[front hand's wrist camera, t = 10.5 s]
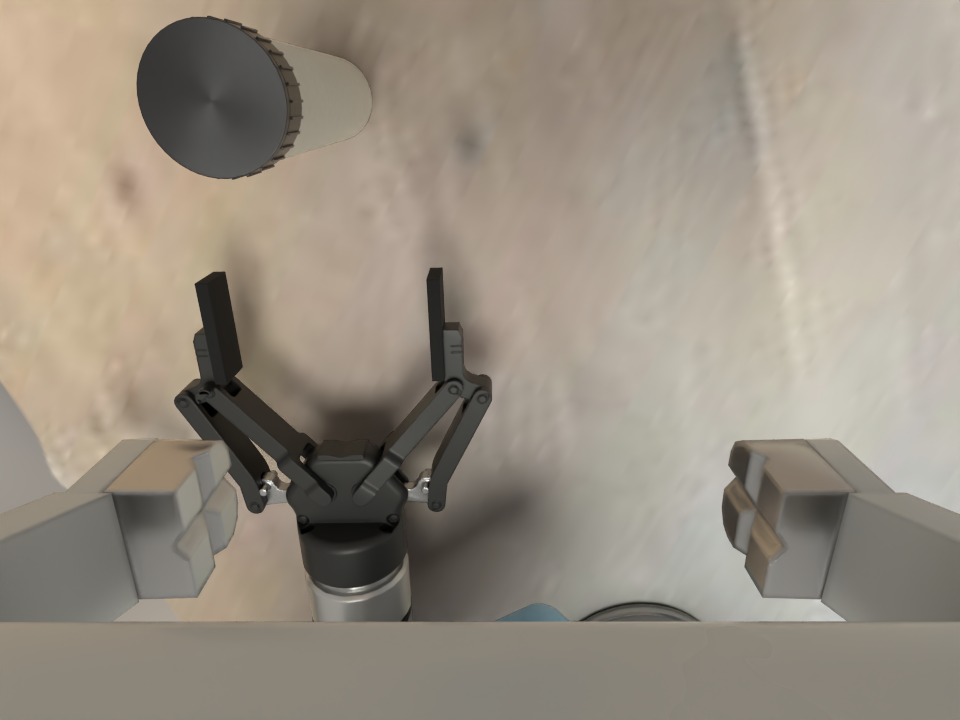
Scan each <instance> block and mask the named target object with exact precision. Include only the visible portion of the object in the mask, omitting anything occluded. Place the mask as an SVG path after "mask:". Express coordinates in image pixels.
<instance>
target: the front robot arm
mask: <svg viewBox="0 0 960 720" xmlns="http://www.w3.org/2000/svg"><path fill="white" fill-rule="evenodd" d="M231 465H232V464H231V459H230V455H229V450H228V446H227V445H226V444H225V443H224V442H223V441H222V440H182V439H157V438H153V439H128V440H122V441H121V442H120V443H119V444H118V445H117V446H115V447H114V448H113V449H112V450H111V451H110V452H109V453H108V454H107V455H105V456H104V457H103V458H102V459H101V460H100V461H99V462H98V463H97V464H96V465H94V466H93V467H92V468H91V469H90V470H89V471H88V472H87V473H86V474H85V475H83V476H82V477H81V478H80V479H79V480H78V481H77V482H76V483H75V484H74V485H72V486H71V487H70V488H69V489H68V490H67V491H66V492H65V493H52V494H50V495H47V496H45V497H42V498H40V499H37V500H35V501H32V502H30V503H27V504H25V505H22V506H20V507H17V508H15V509H12V510H10V511H7V512H5V513H2V514H0V720H960V514H958V513H955V512H953V511H950V510H948V509H945V508H943V507H940V506H938V505H935V504H933V503H930V502H928V501H925V500H923V499H920V498H918V497H915V496H913V495H910V494H908V493H895V492H894V491H893V490H892V489H891V488H890V487H889V486H888V485H887V484H885V483H884V482H883V481H882V480H881V479H880V478H879V477H878V476H877V475H876V474H874V473H873V472H872V471H871V470H870V469H869V468H868V467H867V466H866V465H865V464H863V463H862V462H861V461H860V460H859V459H858V458H857V457H856V456H855V455H854V454H852V453H851V452H850V451H849V450H848V449H847V448H846V447H845V446H844V445H843V444H841V443H840V442H839V441H838V440H834V439H831V438H825V439H782V440H742V441H737V442H735V443H734V445H733V448H732V450H731V453H730V458H729V464H728V465H729V467H730V469H731V470H732V472H733V473H734V475H735V476H736V477H735V478H734V479H733V481H732V482H731V483H730V484H729V485H728V486H727V487H726V488H725V489H724V494H723V502H722V515H723V525H724V528H725V531H726V534H727V537H728V539H729V541H730V542H731V544H732V546H733V547H734V548H735V549H737V550H739V551H740V552H742V553H743V554H745V555H747V556H746V561H745V566H744V567H745V568H746V570H747V572H748V574H749V575H750V577H751V579H752V580H753V582H754V584H755V585H756V587H757V589H758V590H759V592H760V594H761V596H762V597H763V598H794V599H821V602H822V603H823V604H825V605H826V606H827V607H829V608H830V609H831V610H833V611H834V612H835V613H837V614H838V615H839V616H841V617H842V618H843V619H845V620H846V621H848V622H113V621H114V620H115V619H117V618H118V617H119V616H121V615H122V614H123V613H125V612H126V611H127V610H129V609H130V608H131V607H133V606H134V605H136V604H137V603H138V602H139V600H138V599H165V598H197V597H198V596H199V594H200V592H201V591H202V589H203V587H204V585H205V584H206V582H207V580H208V579H209V577H210V575H211V574H212V572H213V570H214V568H215V561H214V556H213V555H215V554H217V553H218V552H220V551H221V550H223V549H225V548H226V547H227V546H228V544H229V542H230V540H231V539H232V537H233V535H234V531H235V527H236V522H237V518H238V500H237V494H236V489H235V488H234V487H233V486H232V485H231V484H230V483H229V482H228V481H227V480H226V478H225V477H224V476H225V475H226V473H227V472H228V470H229V469H230V467H231Z"/></svg>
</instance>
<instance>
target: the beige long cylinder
mask: <svg viewBox="0 0 960 720" xmlns="http://www.w3.org/2000/svg"><path fill="white" fill-rule="evenodd" d="M264 38H265V37H264ZM267 39H269V38H267ZM270 40H271V41H272V42H271V43H272V44H273V45H274V46H275V47H276V48H277V49H278V50H279V51H281V52H283V53H284V55H283V56H284V58H285V59H286V60H287V62H288V64H289V65H290V66H292V67H293V70H292V71H293V73H294V75H295V77H296V80H297V83H300V86H299V90H300V95H301V100H302V99H303V103H302V116H303V119H301V124H300V128H299V131H300V134H298V135H297V137H296V139H295V141H294V144H293V145H294V147H293V148H290V150H289V151H288V152H287V153H286V154H285V157H286V158H287V157H291V156H294V155H297V154H301V153H304V152H307V151H310V150H314V149H317V148H320V147H323V146H327V145H330V144H333V143H337V142H340V141H343V140H346V139H349V138H351V137H353V136H355V135H357V134H358V133H359V132H360V131H361V130H362V129H363V128H364V126H365V125H366V124H367V122H368V120H369V117H370V114H371V110H372V95H371V90H370V87H369V84H368V82H367V80H366V78H365V76H364V75H363V74H362V72H361V71H360V70H359V69H358V68H357V67H356V66H355V65H354V64H352V63H351V62H349V61H347V60H345V59H343V58H340V57H337V56H333V55H329V54H325V53H322V52H318V51H314V50H310V49H307V48H303V47H299V46H295V45H292V44H288V43H284V42H280V41H277V40H273V39H270Z"/></svg>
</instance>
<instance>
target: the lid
mask: <svg viewBox="0 0 960 720" xmlns="http://www.w3.org/2000/svg"><path fill="white" fill-rule="evenodd" d="M271 42H272V41H271V40H270V39H267V38H264V37H263V36H261V35H260V34H258V33H257V30H256V29H252V28H249V27H245V26H242V24H241V23H238V22H235V21H231V20H228V19H224V20H222V19H219V18H215V17H212V16H207V17H190V18H186V19H182V20H179V21H176V22H174V23H172V24H170V25H168V26H166V27H165V28H163V29H162V30H161V31H160V32H158V33H157V34H156V35H155V36H154V37H153V39H152V40H151V41H150V43H149V44H148V45H147V47H146V49H145V51H144V53H143V55H142V58H141V61H140V63H139V68H138V73H137V96H138V102H139V107H140V110H141V113H142V116H143V119H144V121H145V123H146V126H147V128H148V129H149V131H150V133H151V135H152V136H153V138H154V139H155V140H156V142H157V143H158V144H159V146H160V147H161V148H162V149H163V150H164V151H165V152H166V153H167V154H168V155H169V156H170V157H171V158H172V159H173V160H175V161H176V162H177V163H179V164H180V165H182V166H183V167H185V168H187V169H189V170H190V171H193V172H195V173H197V174H200V175H203V176H207V177H212V178H217V179H230V178H232V180H233V179H237V178H240V177H243V176H247V177H250V176H252V175H255V174H258V173H261V171H264V170H267V169H270V168H273V167H274V164H275V163H277V162H278V161H279V160H282V159H285V158H286V157H285V154H286V153H287V152H288V151H289V150H290V148H293V147H294V145H293V144H294V141H295V139H296V137H297V135H298V134H300V131H299V128H300V124H301V119H303V116H302V103H303V99H302V100H301V95H300V90H299V86H300V83H297V80H296V77H295V75H294V73H293V71H292V70H293V67H292V66H290V65H289V64H288V62H287V60H286V59H285V58H284V56H283V55H284V53H283V52H281V51H279V50H278V49H277V48H276V47H275V46H274V45H273V44H272V43H271Z"/></svg>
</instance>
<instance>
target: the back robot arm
mask: <svg viewBox="0 0 960 720" xmlns="http://www.w3.org/2000/svg"><path fill="white" fill-rule="evenodd" d="M195 288H196V293H197V298H198V302H199V307H200V312H201V317H202V322H203V328H202V329H201V330H199V331H198V332H197V333H196V334H195V336H194V341H193V343H194V348H195V352H196V356H197V362H198V366H199V371H200V376H201V379H194V380H193V381H192V382H191V383H190V384H189V385H188V386H186V387H185V388H184V389H183V390H182V391H181V392H180V393H179V394H178V395H177V396H176V397H175V399H174V403H175V405H176V407H177V408H178V410H179V411H180V412H181V413H182V415H183V416H184V417H185V418H186V420H187V421H188V422H189V423H190V425H191V426H192V427H193V428H194V430H195V431H196V432H197V433H198V435H199V436H200V437H201V438H202V440H222V441H223V442H224V443H225V444H226V445H227V446H228V450H229V455H230V459H231V464H232V465H231V467H230V469H229V470H228V472H229V474H230V475H231V476H232V477H233V479H234V480H235V481H236V482H237V484H238V485H239V486H240V488H241V491H242V494H243V497H244V500H245V503H246V506H247V508H248V510H249V511H250V512H252V513H257V514H258V513H261V512H262V511H263V510H264V508H265V506H266V505H268V504H277V503H286V502H288V503H289V505H290V506H291V507H292V508H293V510H294V511H295V513H296V517H297V527H298V534H299V540H300V546H301V552H302V558H303V564H304V568H305V578H306V584H307V589H308V595H309V600H310V606H311V611H312V619H313V622H413V614H412V602H411V588H410V574H409V559H408V554H407V534H406V522H405V510H404V505H405V503H406V502H407V501H413V502H425V503H428V507H429V509H430V510H432V511H435V512H439V511H442V510H443V509H444V507H445V502H446V492H447V484H448V482H449V480H450V478H451V476H452V474H453V472H454V471H455V469H456V467H457V465H458V463H459V461H460V459H461V457H462V456H463V454H464V452H465V450H466V448H467V446H468V444H469V443H470V441H471V439H472V437H473V435H474V433H475V431H476V429H477V428H478V426H479V424H480V422H481V420H482V418H483V416H484V415H485V413H486V411H487V409H488V407H489V405H490V403H491V401H492V381H491V379H490V377H489V376H487V375H484V374H482V375H475V374H472V373H470V372H468V371H467V370H466V369H465V366H464V352H463V329H462V327H461V325H460V323H459V322H446V323H445V312H444V290H443V268H430V271H429V274H428V277H427V296H428V314H429V332H430V349H431V367H432V381H437V383H436V384H435V385H434V386H433V387H432V388H431V389H430V391H429V392H428V393H427V394H426V395H425V396H424V398H423V399H422V400H421V401H420V402H419V403H418V404H417V406H416V407H415V408H414V409H413V410H412V411H411V413H410V414H409V415H408V416H407V417H406V418H405V419H404V421H403V422H402V423H401V424H400V425H399V426H398V428H397V429H396V430H395V431H394V432H391V433H390V434H389V436H388V437H387V438H386V439H385V440H384V441H383V443H382V444H381V445H380V446H379V447H378V446H376V445H374V444H371V443H369V440H355V441H351V442H342V441H337V440H324V442H323V444H320V445H318V444H316V443H315V442H314V441H313V440H312V439H311V438H310V437H309V436H307V435H306V434H305V433H298V432H297V431H296V430H295V429H294V428H293V427H291V426H290V425H289V424H288V423H287V422H286V421H285V420H283V419H282V418H281V417H280V416H279V415H278V414H277V413H276V412H274V411H273V410H272V409H271V408H270V407H269V406H268V405H267V404H265V403H264V402H263V401H262V400H261V399H260V398H259V397H257V396H256V395H255V394H254V393H253V392H252V391H251V390H250V389H248V388H247V387H246V386H245V385H244V384H243V383H242V382H241V381H239V380H238V379H237V378H236V377H235V375H236V374H237V373H238V372H239V371H240V370H241V368H242V367H243V366H242V361H241V355H240V350H239V344H238V339H237V333H236V328H235V322H234V317H233V312H232V306H231V301H230V295H229V290H228V284H227V279H226V273H225V272H212V273H211V274H209V275H208V276H206V277H205V278H203V279H201V280H200V281H198V282H197V283H195ZM459 397H462V398H465V399H464V401H463V403H462V404H461V406H460V408H459V410H458V412H457V414H456V416H455V418H454V420H453V422H452V424H451V426H450V428H449V430H448V432H447V434H446V435H445V437H444V439H443V441H442V443H441V445H440V447H439V449H438V451H437V453H436V455H435V457H434V460H433V464H432V469H425V471H423V472H421V473H420V475H419V478H418V479H417V480H416V481H413V482H409V480H408V478H407V477H406V475H405V474H404V473H403V472H402V471H401V470H400V469H399V467H400V466H401V464H402V462H403V460H404V459H405V458H406V457H407V455H408V454H409V453H410V452H411V451H412V450H413V449H414V448H415V446H416V445H417V444H418V443H419V442H420V441H421V440H422V439H423V437H424V436H425V435H426V434H427V433H428V432H429V431H430V430H431V428H432V427H433V426H434V425H435V424H436V423H437V422H438V421H439V419H440V418H441V417H442V416H443V415H444V414H445V413H446V412H447V411H448V409H449V408H450V407H451V406H452V405H453V404H454V403H455V402H456V400H457V399H458V398H459ZM248 437H249V438H250V439H251V440H252V441H253V442H254V443H256V444H257V445H258V446H259V447H260V448H261V449H263V450H264V451H265V452H266V453H267V454H268V455H270V456H271V457H272V458H273V459H274V460H275V461H276V462H277V466H278V468H279V470H280V471H281V472H282V473H284V474H285V475H286V476H287V477H288V478H289V479H291V482H290V483H284V482H282V481H281V480H280V479H279V477H278V473H277V472H276V471H275V470H272V471H270V469H269V466H268V464H267V462H266V461H265V459H264V458H263V456H262V455H261V453H260V452H259V451H258V450H257V448H256V447H255V446H254V444H253V443H252V442H251V440H250V439H249V438H248ZM300 455H302V456H303V457H304V458H305V461H304V462H303V463H302V462H301V461H300ZM494 622H570V621H569V620H568V619H566V618H565V617H564V616H563V615H562V614H561V613H560V612H559V611H558V610H556V609H555V608H553V607H551V606H549V605H546V604H531V605H529V606H527V607H524V608H522V609H520V610H518V611H516V612H514V613H511V614H509V615H507V616H505V617H503V618H501V619H498V620H496V621H494ZM582 622H698V621H697V620H695V619H694V618H693V617H691V616H689V615H687V614H686V613H683V612H681V611H679V610H676V609H673V608H670V607H665V606H660V605H653V604H632V605H624V606H619V607H614V608H611V609H607V610H604V611H602V612H599V613H597V614H595V615H593V616H591V617H589V618H587V619H586V620H584V621H582Z"/></svg>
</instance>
